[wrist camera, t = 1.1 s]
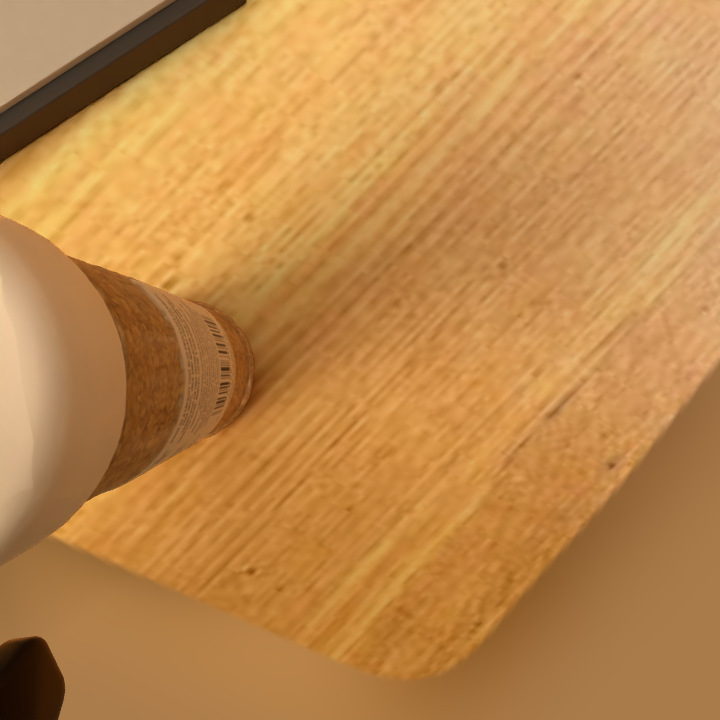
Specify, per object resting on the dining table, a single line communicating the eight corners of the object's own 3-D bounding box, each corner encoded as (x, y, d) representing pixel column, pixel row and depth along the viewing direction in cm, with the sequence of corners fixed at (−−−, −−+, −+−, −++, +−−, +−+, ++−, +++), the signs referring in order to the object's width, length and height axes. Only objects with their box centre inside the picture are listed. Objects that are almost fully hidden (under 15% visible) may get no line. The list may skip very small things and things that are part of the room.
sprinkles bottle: (131, 289, 19) (-383, 111, 6) (270, 317, 19) (100, 209, 6) (104, 428, 19) (-482, 592, 5) (243, 454, 19) (6, 677, 6)
